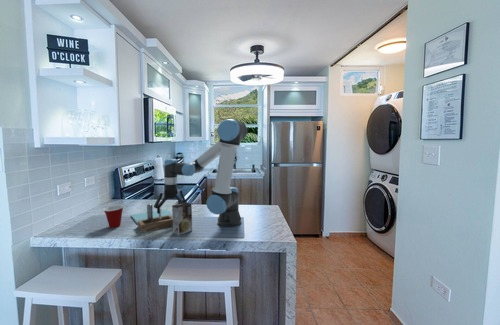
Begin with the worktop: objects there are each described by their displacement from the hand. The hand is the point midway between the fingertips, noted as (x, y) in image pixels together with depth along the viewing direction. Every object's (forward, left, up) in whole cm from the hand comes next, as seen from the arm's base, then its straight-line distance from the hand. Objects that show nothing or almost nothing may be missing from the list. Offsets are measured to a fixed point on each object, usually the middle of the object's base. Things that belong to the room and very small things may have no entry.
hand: (171, 216), depth 150 cm
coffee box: (-18, 0, -4) cm, 19 cm away
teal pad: (+20, +6, -4) cm, 21 cm away
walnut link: (0, +9, -4) cm, 10 cm away
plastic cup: (+15, +30, -4) cm, 33 cm away
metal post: (0, +13, -4) cm, 13 cm away
